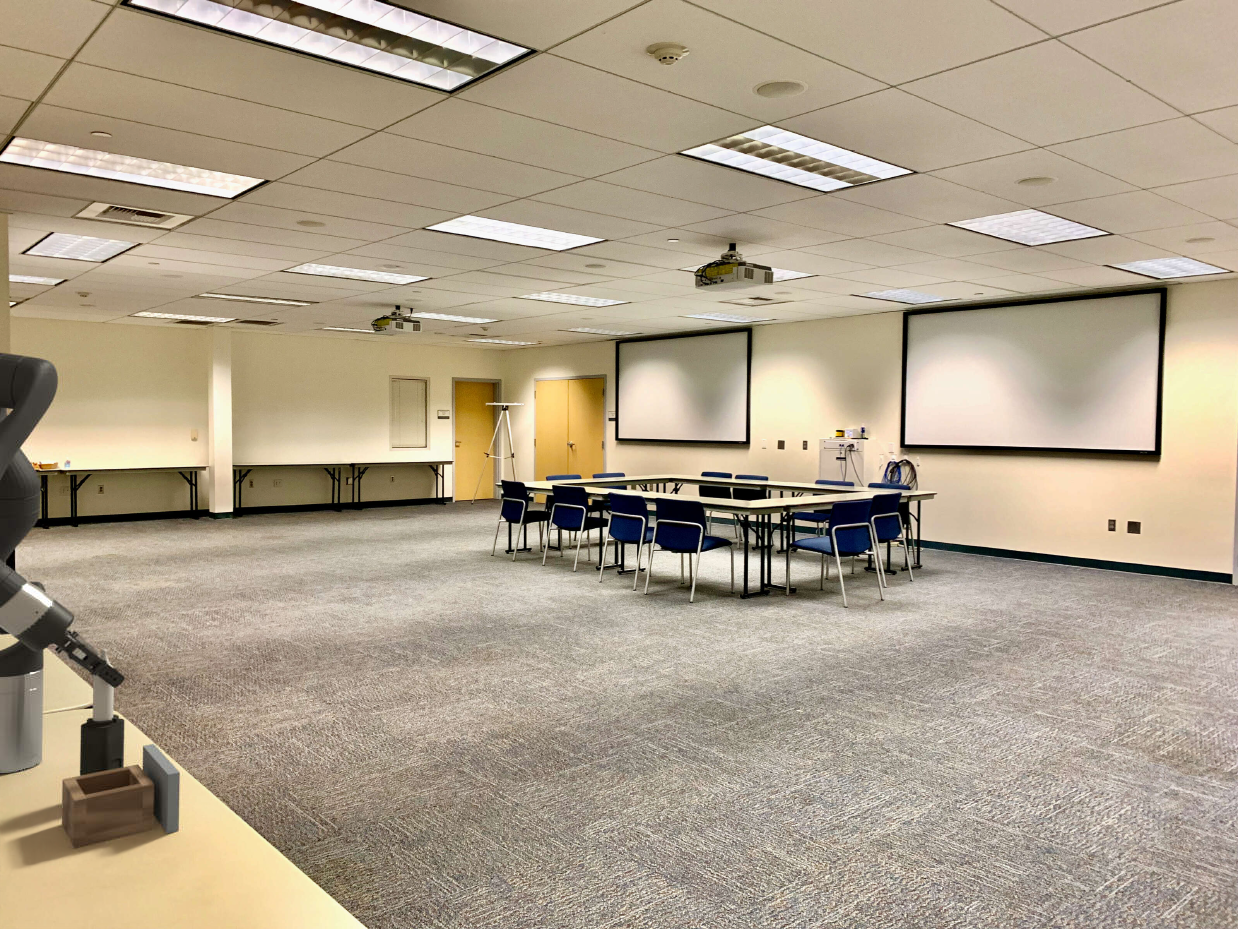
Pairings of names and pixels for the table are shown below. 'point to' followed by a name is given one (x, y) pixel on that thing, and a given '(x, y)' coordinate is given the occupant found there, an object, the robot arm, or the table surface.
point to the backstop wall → (163, 787)
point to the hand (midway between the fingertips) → (116, 679)
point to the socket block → (107, 805)
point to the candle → (102, 731)
